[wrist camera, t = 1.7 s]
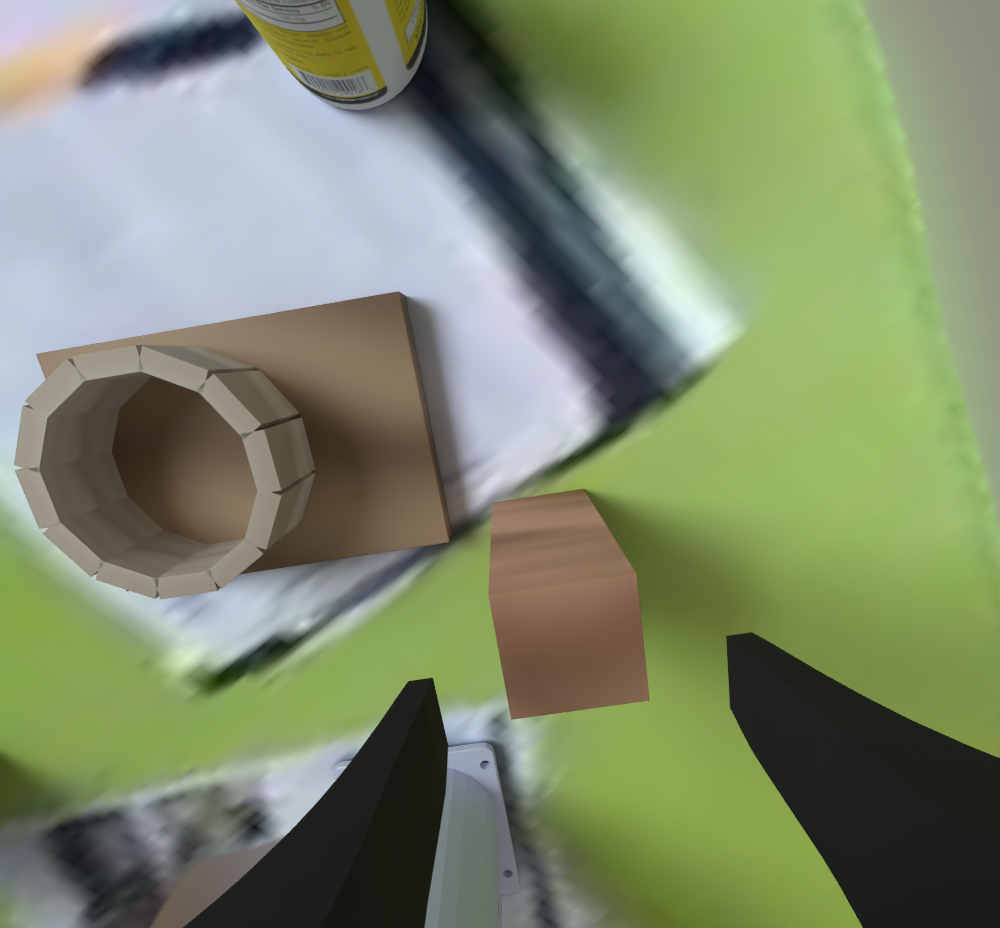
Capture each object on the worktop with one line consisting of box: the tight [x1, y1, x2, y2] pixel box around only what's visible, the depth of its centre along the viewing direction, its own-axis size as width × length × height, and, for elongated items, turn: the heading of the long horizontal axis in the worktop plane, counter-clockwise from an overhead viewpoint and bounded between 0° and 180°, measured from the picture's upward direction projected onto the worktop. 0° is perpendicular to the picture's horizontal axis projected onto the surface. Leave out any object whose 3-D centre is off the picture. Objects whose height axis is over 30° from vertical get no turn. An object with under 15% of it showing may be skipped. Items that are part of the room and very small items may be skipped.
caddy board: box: [14, 292, 452, 599], centre depth 18 cm, size 10×14×4 cm
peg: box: [489, 489, 649, 720], centre depth 17 cm, size 4×4×8 cm
